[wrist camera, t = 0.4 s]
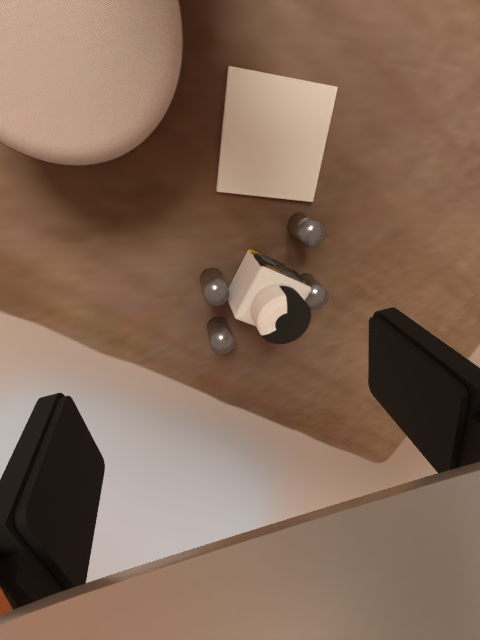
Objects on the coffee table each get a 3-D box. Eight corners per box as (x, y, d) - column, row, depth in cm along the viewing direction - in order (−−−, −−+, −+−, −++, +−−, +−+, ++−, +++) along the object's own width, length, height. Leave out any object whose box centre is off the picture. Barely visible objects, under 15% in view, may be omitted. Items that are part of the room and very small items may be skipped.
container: (196, 136, 38) (210, 140, 28) (29, 174, 37) (-21, 191, 27) (143, -104, 29) (135, -226, 19) (-82, -67, 28) (-220, -178, 18)
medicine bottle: (293, 268, 48) (330, 306, 38) (268, 311, 50) (296, 359, 40) (248, 247, 45) (274, 282, 35) (224, 294, 48) (242, 340, 37)
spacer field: (206, 203, 42) (211, 211, 37) (330, 215, 45) (348, 224, 41) (195, 334, 50) (198, 354, 46) (301, 336, 54) (313, 354, 49)
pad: (227, 66, 36) (228, 65, 35) (335, 87, 39) (337, 87, 38) (216, 190, 41) (216, 191, 41) (311, 201, 44) (312, 202, 44)
